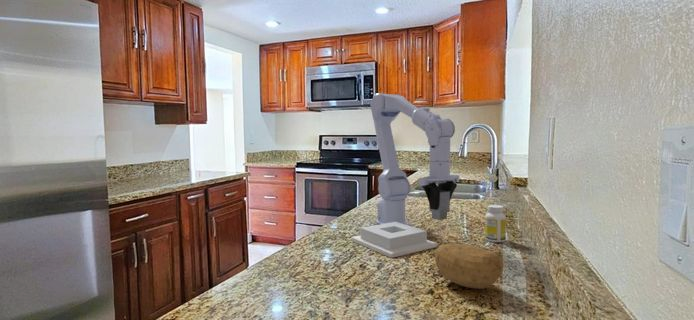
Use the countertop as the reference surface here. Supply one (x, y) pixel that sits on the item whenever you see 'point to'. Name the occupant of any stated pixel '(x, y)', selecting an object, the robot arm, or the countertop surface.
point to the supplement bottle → (495, 224)
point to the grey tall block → (442, 206)
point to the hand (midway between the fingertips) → (439, 208)
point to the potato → (468, 265)
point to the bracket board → (396, 251)
